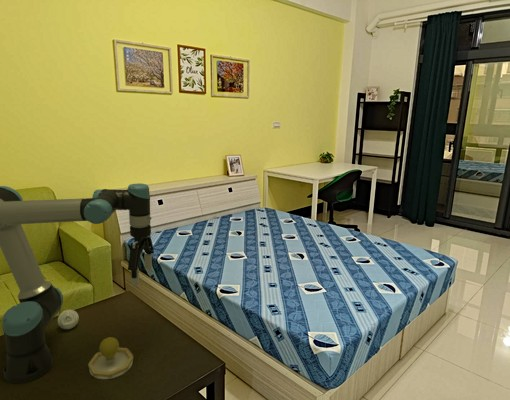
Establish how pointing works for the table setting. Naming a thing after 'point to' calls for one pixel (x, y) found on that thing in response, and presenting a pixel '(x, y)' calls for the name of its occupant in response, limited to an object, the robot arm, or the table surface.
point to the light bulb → (109, 349)
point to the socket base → (118, 368)
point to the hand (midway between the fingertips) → (142, 276)
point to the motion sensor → (68, 319)
